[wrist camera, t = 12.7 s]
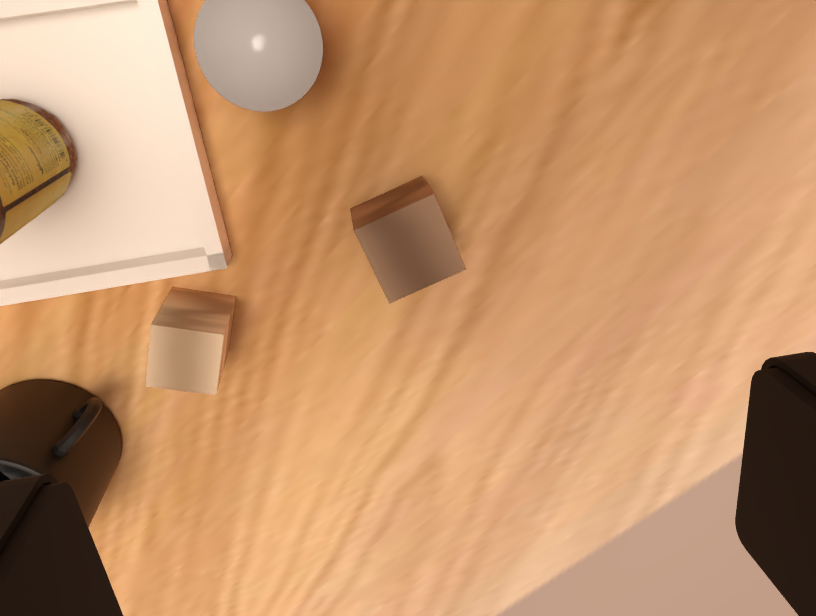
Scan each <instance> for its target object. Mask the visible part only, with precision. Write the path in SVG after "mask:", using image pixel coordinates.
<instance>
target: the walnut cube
mask: <svg viewBox="0 0 816 616" xmlns="http://www.w3.org/2000/svg"><path fill="white" fill-rule="evenodd" d="M350 210H351V216H352V222H353V228H354V232H355V234H356V236H357V238H358V240H359V242H360V244H361V246H362V248H363V250H364V252H365V254H366V256H367V258H368V260H369V262H370V264H371V267H372V269H373V271H374V273H375V275H376V277H377V279H378V281H379V283H380V285H381V287H382V289H383V291H384V293H385V295H386V297H387V299H388V301H389V304H390V303H392V302H394V301H396V300H399V299H401V298H403V297H405V296H407V295H410V294H412V293H414V292H416V291H419V290H421V289H423V288H425V287H428V286H430V285H432V284H434V283H436V282H439V281H441V280H443V279H445V278H448V277H450V276H452V275H454V274H456V273H459V272H461V271H463V270H465V269H466V268H465V265H464V263H463V261H462V258H461V256H460V254H459V251H458V249H457V246H456V244H455V242H454V239H453V237H452V234H451V232H450V230H449V227H448V225H447V223H446V220H445V218H444V215H443V213H442V211H441V208H440V206H439V204H438V201H437V199H436V196H435V194H434V192H433V191H432V190H431V188H430V187H429V185H428V184H427V182H426V181H425V180H424V178H423V177H422V176H421V177H419V178H416V179H414V180H412V181H410V182H408V183H406V184H403V185H401V186H399V187H397V188H395V189H393V190H390V191H388V192H386V193H384V194H382V195H379V196H377V197H375V198H373V199H371V200H369V201H366V202H364V203H362V204H360V205H358V206H355V207H353V208H351V209H350Z"/></svg>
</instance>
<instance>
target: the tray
mask: <svg viewBox="0 0 816 616" xmlns="http://www.w3.org/2000/svg"><path fill="white" fill-rule="evenodd" d="M1 99H16V100H20V101H24V102H28V103H31V104H33V105H35V106H37V107H39V108H41V109H44V110H45V111H47V112H48V113H50V114H51V115H53V116H54V117H55V118H56V119H57V120H58V121H59V123H60V124H61V125H62V126H63V128H64V129H65V131H66V132H67V134H68V136H69V137H70V138H71V141H72V143H73V145H74V148H75V153H76V157H77V161H76V167H75V171H74V175H73V178H72V180H71V183H70V184H69V186H68V187H67V189H66V191H65V193H64V195H63V196H61V197H60V198H59V199H58V200H57V201H56V202H55V203H54V204H53V205H51V206H50V207H49V208H48V209H46V210H45V211H44V212H42V213H41V214H40V215H39V216H37V217H36V218H35V219H33V220H32V221H30V222H29V223H28V224H26V225H25V226H24V227H22V228H21V229H20V230H18V231H17V232H16V233H15V234H13V235H12V236H11V237H9V238H8V239H7V240H5V241H4V242H3V243H1V244H0V306H4V305H10V304H16V303H22V302H28V301H34V300H40V299H46V298H52V297H58V296H64V295H70V294H76V293H82V292H88V291H94V290H100V289H106V288H112V287H118V286H124V285H130V284H136V283H142V282H148V281H154V280H160V279H166V278H172V277H178V276H184V275H190V274H196V273H202V272H208V271H214V270H220V269H226V268H228V265H229V262H230V260H231V257H232V253H231V249H230V245H229V241H228V237H227V233H226V229H225V225H224V221H223V217H222V213H221V209H220V205H219V201H218V198H217V194H216V190H215V186H214V182H213V178H212V174H211V170H210V166H209V162H208V158H207V154H206V150H205V146H204V143H203V139H202V135H201V131H200V127H199V123H198V119H197V115H196V111H195V107H194V103H193V99H192V95H191V91H190V88H189V84H188V80H187V76H186V72H185V68H184V64H183V60H182V56H181V52H180V48H179V44H178V40H177V36H176V33H175V29H174V25H173V21H172V17H171V13H170V9H169V5H168V1H167V0H0V100H1Z"/></svg>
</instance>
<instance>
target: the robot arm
mask: <svg viewBox="0 0 816 616" xmlns="http://www.w3.org/2000/svg"><path fill="white" fill-rule="evenodd" d="M735 524H736V530H737V533H738V536H739V539H740V541H741V543H742V544H743V546H744V547H745V549H746V550H747V551H748V553H749V554H750V555H751V556H752V558H753V559H754V560H755V561H756V563H757V564H758V565H759V566H760V568H761V569H762V570H763V571H764V572H765V574H766V575H767V576H768V578H769V579H770V580H771V581H772V583H773V584H774V585H775V586H776V588H777V589H778V590H779V591H780V593H781V594H782V595H783V597H785V599H786V600H787V601H788V603H789V604H790V605H791V607H792V608H793V609H794V610H795V612H796V613H797V614H798V615H799V616H816V353H814V352H804V353H798V354H792V355H785V356H779V357H773V358H769V359H767V360H766V361H765V362H764V364H763V365H762V368H761V370H758V371H757V372H755V373H754V375H753V377H752V381H751V388H750V397H749V406H748V414H747V423H746V432H745V440H744V449H743V457H742V467H741V475H740V483H739V492H738V500H737V509H736V518H735ZM0 616H123V614H122V611H121V609H120V606H119V604H118V601H117V599H116V596H115V594H114V591H113V589H112V586H111V584H110V581H109V579H108V576H107V574H106V571H105V569H104V566H103V564H102V561H101V559H100V556H99V554H98V551H97V549H96V546H95V544H94V541H93V539H92V536H91V534H90V531H89V529H88V526H87V524H86V521H85V519H84V516H83V514H82V511H81V509H80V506H79V504H78V501H77V498H76V496H75V493H74V491H73V489H72V487H71V486H70V485H69V484H68V483H65V482H62V483H58V481H57V479H56V478H55V477H54V476H53V475H50V474H41V475H35V476H29V477H23V478H16V479H10V480H5V481H2V482H0Z"/></svg>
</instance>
